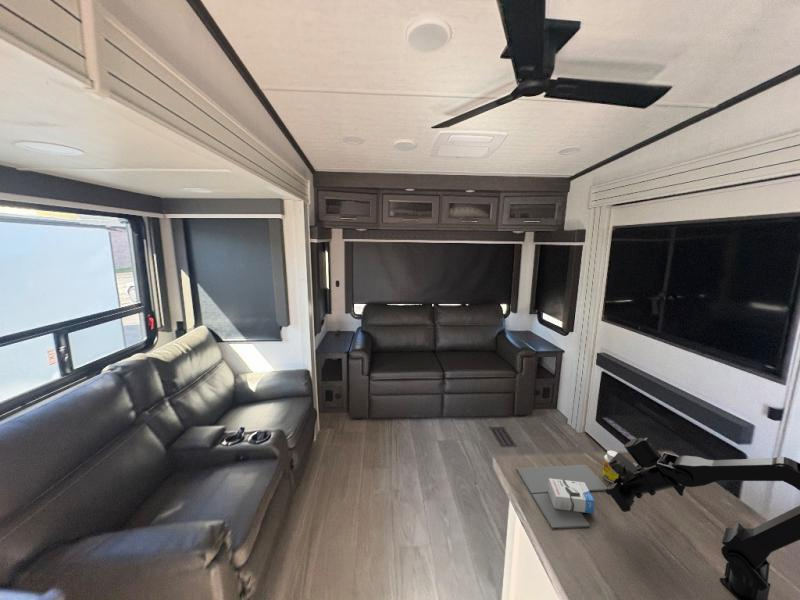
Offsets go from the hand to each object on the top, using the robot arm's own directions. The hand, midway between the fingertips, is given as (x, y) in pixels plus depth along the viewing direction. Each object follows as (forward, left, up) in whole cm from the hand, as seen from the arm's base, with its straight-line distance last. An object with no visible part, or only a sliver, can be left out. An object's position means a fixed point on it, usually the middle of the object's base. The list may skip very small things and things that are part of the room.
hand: (606, 491), depth 99 cm
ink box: (+2, +3, -4) cm, 6 cm away
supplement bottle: (+14, -13, -7) cm, 20 cm away
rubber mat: (+8, +6, -7) cm, 12 cm away
